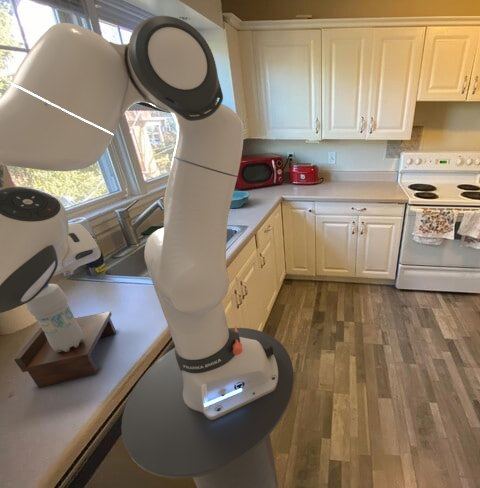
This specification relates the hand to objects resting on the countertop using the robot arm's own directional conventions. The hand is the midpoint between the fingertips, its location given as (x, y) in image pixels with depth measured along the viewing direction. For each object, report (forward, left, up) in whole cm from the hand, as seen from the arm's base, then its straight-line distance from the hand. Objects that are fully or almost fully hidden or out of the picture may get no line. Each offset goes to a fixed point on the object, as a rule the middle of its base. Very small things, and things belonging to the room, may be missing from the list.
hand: (39, 282), depth 59 cm
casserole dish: (-35, -137, -28) cm, 144 cm away
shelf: (+4, -8, -28) cm, 29 cm away
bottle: (+3, -4, -21) cm, 22 cm away
